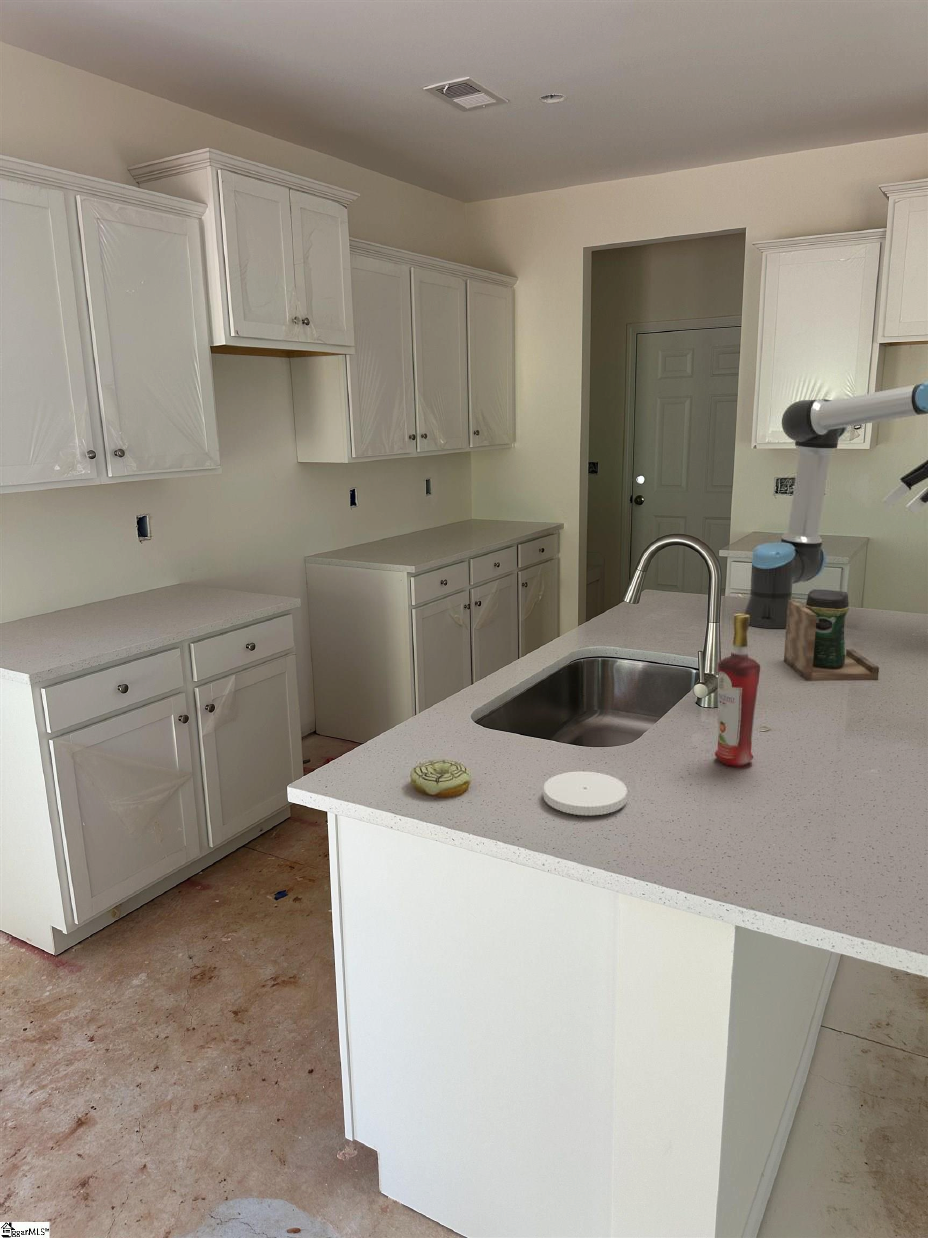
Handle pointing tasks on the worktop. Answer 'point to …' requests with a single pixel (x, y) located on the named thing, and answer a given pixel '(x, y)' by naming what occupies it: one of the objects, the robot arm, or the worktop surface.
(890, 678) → the worktop surface
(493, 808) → the worktop surface
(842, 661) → the coffee jar
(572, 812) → the plastic lid
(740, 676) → the liquor
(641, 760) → the worktop surface
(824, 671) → the wooden board stand
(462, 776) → the decorated donut
